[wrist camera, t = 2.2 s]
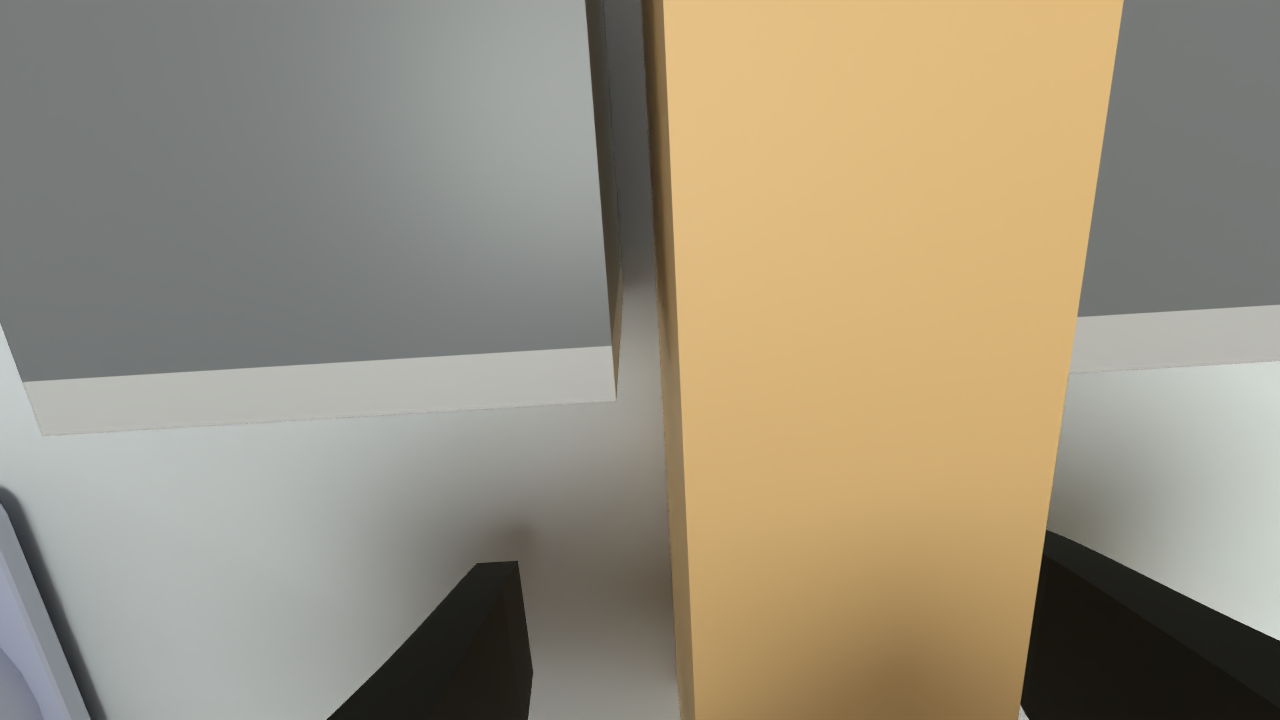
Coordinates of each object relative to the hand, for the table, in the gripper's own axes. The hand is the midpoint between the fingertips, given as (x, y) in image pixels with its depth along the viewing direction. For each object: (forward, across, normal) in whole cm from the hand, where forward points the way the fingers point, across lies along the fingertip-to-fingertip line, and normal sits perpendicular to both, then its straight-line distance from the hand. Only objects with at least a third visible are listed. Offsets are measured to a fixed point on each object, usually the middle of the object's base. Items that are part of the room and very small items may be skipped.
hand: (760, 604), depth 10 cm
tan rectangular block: (+2, 0, -3) cm, 3 cm away
